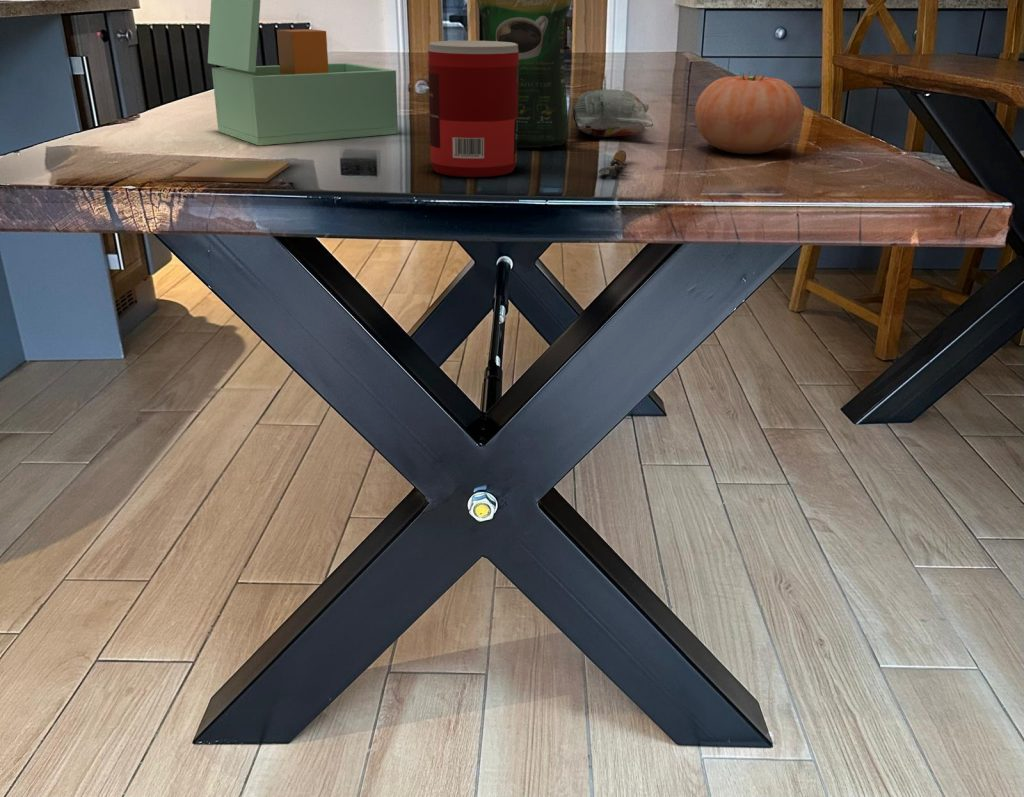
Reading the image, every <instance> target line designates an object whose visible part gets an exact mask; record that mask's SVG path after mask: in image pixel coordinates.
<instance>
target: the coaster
mask: <svg viewBox="0 0 1024 797" xmlns="http://www.w3.org/2000/svg"><path fill="white" fill-rule="evenodd" d="M289 167H290V161H275V160H274V161H271V160H233V159H232V160H230V159H229V160H228V159H227V160H226V159H225V160H224V159H203V160H201V161H200V162H198V163H195V164H193V165H192V166H190V167H188V168H186V169H184V170H182V171H180V172H178V173H176V174H175V175H173V177H172V178H173V181H175V182H179V181H180V182H220V183H221V182H222V183H224V182H225V183H268V182H270V181H271V180H272V179H274V178H275V177H276V176H278V175H279V174H281V173H282V172H283V171H285V170H286V169H288V168H289Z"/></svg>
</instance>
